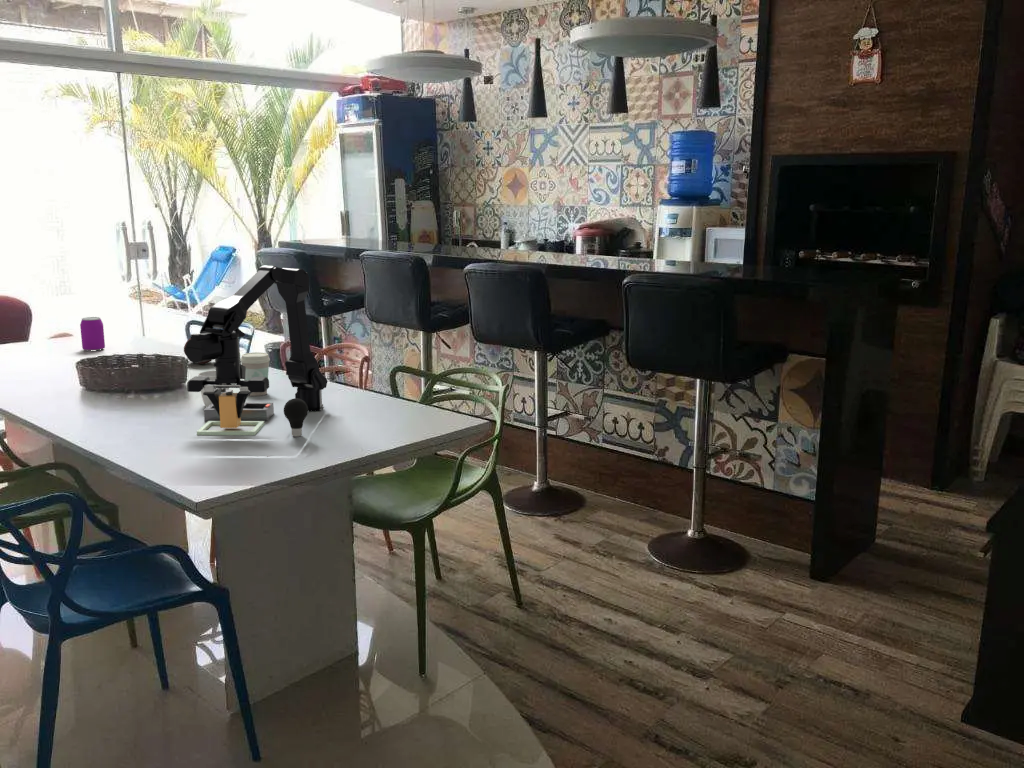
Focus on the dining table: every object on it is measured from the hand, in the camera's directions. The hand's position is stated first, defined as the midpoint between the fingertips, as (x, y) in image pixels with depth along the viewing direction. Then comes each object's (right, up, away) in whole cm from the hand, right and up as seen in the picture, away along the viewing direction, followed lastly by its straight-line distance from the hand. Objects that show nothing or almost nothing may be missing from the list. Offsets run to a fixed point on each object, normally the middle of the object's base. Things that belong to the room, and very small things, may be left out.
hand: (230, 417), depth 213 cm
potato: (-38, +15, +86) cm, 95 cm away
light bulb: (+17, -5, -2) cm, 18 cm away
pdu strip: (-2, -1, +13) cm, 13 cm away
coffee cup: (-6, +5, +43) cm, 43 cm away
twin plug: (-6, 0, +12) cm, 13 cm away
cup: (-12, +1, +25) cm, 28 cm away
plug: (0, -2, 0) cm, 2 cm away
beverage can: (-87, +21, +107) cm, 139 cm away
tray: (0, -4, +1) cm, 4 cm away
